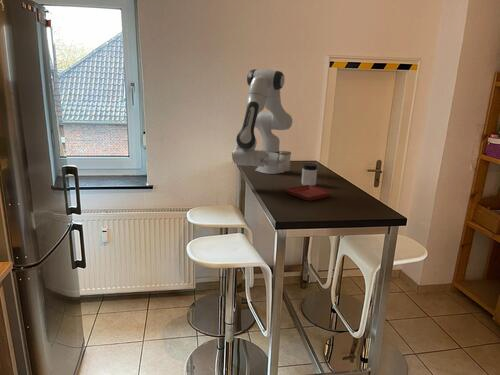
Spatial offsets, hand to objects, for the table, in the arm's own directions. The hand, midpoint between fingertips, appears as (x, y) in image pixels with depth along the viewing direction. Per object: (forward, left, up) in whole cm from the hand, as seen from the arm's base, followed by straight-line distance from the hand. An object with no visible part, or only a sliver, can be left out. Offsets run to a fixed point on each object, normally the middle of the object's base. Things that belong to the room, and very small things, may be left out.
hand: (286, 160), depth 214 cm
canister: (0, -1, -5) cm, 6 cm away
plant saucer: (+8, +13, -17) cm, 23 cm away
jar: (-16, +14, -17) cm, 27 cm away
